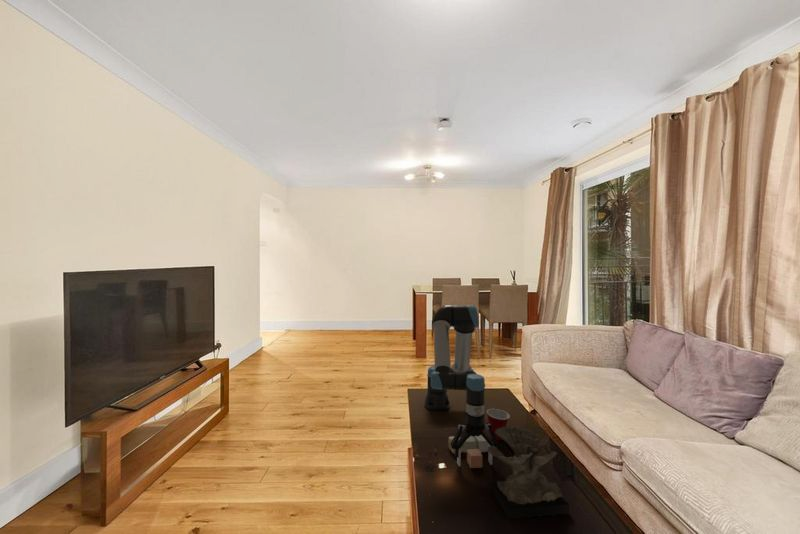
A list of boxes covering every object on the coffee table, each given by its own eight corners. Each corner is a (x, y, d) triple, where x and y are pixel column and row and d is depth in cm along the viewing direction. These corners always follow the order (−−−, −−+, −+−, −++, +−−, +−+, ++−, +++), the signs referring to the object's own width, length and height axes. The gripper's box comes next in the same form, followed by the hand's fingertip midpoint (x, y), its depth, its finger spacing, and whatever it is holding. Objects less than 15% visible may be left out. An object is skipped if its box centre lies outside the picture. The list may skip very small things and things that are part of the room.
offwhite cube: (474, 446, 153) (474, 435, 153) (484, 445, 154) (484, 434, 154) (478, 452, 148) (479, 441, 148) (489, 451, 149) (489, 440, 149)
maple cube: (448, 447, 152) (448, 436, 151) (458, 446, 153) (458, 435, 153) (453, 453, 147) (453, 442, 147) (463, 452, 148) (463, 441, 148)
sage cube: (462, 446, 153) (462, 435, 153) (473, 446, 153) (473, 435, 153) (464, 452, 148) (464, 441, 148) (475, 452, 148) (475, 441, 148)
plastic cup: (511, 444, 155) (511, 418, 155) (487, 442, 156) (487, 417, 156) (507, 432, 165) (507, 408, 165) (485, 431, 167) (485, 407, 167)
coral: (497, 520, 109) (498, 455, 109) (477, 480, 129) (478, 424, 129) (570, 515, 111) (571, 451, 111) (539, 477, 131) (540, 422, 131)
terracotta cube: (466, 461, 142) (467, 449, 141) (478, 460, 142) (478, 448, 142) (470, 468, 137) (470, 456, 136) (482, 467, 137) (482, 455, 137)
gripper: (448, 418, 134) (447, 470, 134) (507, 416, 136) (507, 467, 137) (443, 410, 142) (443, 459, 142) (500, 408, 144) (499, 457, 144)
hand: (474, 463), depth 139 cm, fingers open, 13 cm apart
